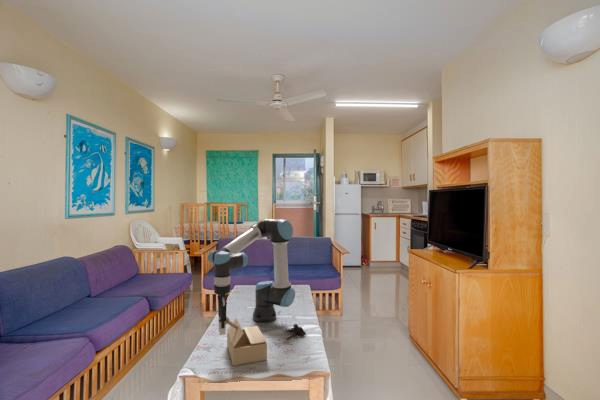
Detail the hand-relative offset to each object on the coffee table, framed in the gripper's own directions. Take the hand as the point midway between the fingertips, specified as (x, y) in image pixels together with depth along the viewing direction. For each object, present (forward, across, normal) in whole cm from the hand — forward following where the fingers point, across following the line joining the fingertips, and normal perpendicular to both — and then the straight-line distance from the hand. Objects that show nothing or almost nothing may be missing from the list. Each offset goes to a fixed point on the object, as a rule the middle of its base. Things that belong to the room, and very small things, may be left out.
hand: (222, 332), depth 150 cm
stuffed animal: (+13, -11, +42) cm, 46 cm away
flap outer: (+1, 0, +6) cm, 7 cm away
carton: (+12, 0, +12) cm, 17 cm away
